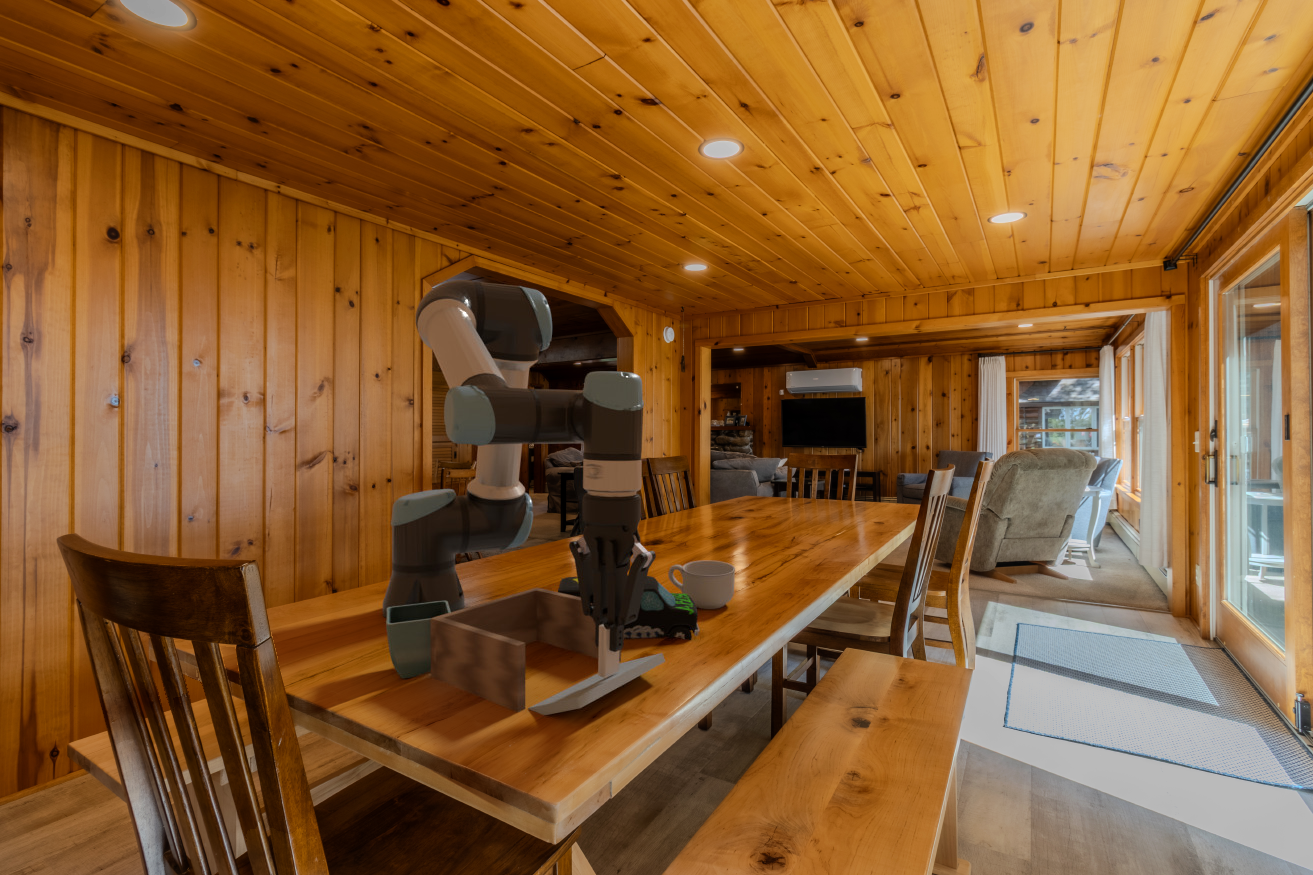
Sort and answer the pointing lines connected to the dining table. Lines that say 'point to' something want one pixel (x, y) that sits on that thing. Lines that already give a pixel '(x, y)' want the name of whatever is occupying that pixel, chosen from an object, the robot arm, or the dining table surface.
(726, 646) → the dining table surface
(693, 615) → the toy van
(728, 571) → the teacup
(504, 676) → the crate
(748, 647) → the dining table surface
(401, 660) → the flower pot
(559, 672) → the dining table surface
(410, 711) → the dining table surface
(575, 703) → the panel
